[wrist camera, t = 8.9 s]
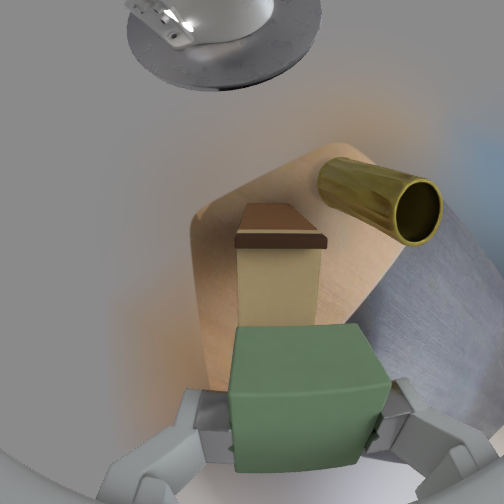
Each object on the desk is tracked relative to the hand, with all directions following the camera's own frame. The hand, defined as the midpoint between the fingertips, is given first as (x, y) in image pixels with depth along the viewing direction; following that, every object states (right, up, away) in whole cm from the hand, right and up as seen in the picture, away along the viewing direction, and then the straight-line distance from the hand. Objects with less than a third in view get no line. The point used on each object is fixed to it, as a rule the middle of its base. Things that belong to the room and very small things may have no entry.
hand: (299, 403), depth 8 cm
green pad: (0, 0, +2) cm, 2 cm away
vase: (+9, +13, +23) cm, 28 cm away
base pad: (0, +7, +25) cm, 26 cm away
